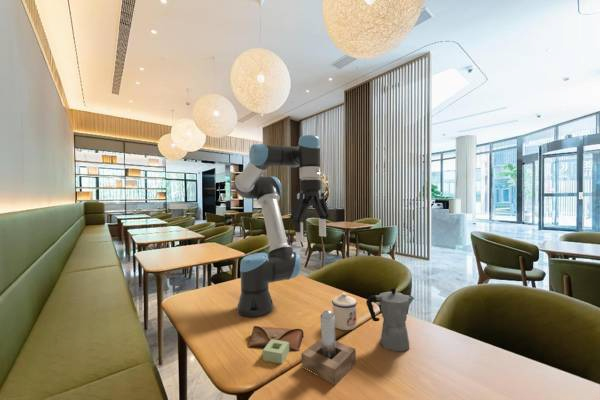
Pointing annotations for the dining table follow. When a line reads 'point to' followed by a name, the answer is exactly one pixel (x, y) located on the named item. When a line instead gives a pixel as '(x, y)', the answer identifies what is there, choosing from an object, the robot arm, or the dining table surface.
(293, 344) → the sunglasses case
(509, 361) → the dining table surface
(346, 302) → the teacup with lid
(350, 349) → the brown square holed block
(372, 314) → the coffeepot
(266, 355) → the pale green holed block
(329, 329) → the silver metal cylinder
